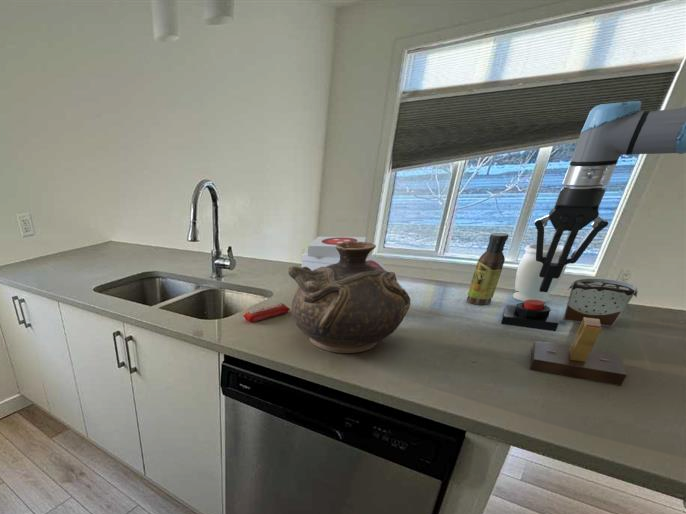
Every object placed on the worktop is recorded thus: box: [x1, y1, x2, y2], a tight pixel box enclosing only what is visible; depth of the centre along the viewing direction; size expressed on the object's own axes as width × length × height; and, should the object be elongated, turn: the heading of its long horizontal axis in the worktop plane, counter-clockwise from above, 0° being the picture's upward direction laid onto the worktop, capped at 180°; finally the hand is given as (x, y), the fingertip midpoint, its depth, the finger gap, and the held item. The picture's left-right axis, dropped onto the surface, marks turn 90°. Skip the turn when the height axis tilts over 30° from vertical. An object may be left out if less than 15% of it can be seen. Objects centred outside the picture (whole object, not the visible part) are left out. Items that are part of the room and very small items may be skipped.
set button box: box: [500, 302, 559, 332], centre depth 107 cm, size 11×10×4 cm
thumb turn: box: [569, 317, 603, 362], centre depth 83 cm, size 6×2×8 cm, turn 142°
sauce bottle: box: [466, 232, 509, 306], centre depth 117 cm, size 6×6×20 cm
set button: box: [523, 300, 546, 310], centre depth 105 cm, size 4×4×2 cm
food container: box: [562, 278, 639, 328], centre depth 103 cm, size 12×6×10 cm, turn 49°
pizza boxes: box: [301, 235, 406, 291], centre depth 129 cm, size 19×30×18 cm, turn 41°
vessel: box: [287, 241, 411, 354], centre depth 101 cm, size 27×28×25 cm
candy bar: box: [242, 302, 291, 323], centre depth 125 cm, size 16×4×3 cm, turn 114°
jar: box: [512, 243, 574, 303], centre depth 117 cm, size 11×10×15 cm
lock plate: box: [529, 340, 628, 387], centre depth 86 cm, size 14×11×3 cm
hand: (543, 290), depth 101 cm, fingers closed
